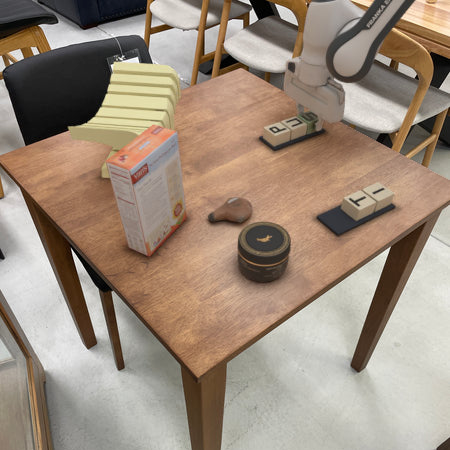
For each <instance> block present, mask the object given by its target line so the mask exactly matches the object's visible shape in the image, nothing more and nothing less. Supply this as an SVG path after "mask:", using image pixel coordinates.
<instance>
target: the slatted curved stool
mask: <svg viewBox="0 0 450 450" xmlns="http://www.w3.org/2000/svg"><path fill="white" fill-rule="evenodd" d="M110 75H111V76H110V79H109V84H108V87H107V90H106V91H107V93H106V94H105V95H104V96H105V97H104V99H103V101H102V103H101V106H100V107H99V109H98V111H97V112H96V114H95V115H94V117H92V118H91V119H90V120H88V121H87V123H86V122H85V123H83V124H81V125H75V126H67V129H68V131H69V135H70V138H71V141H72V140H73V141H81V142H89V143H90V142H91V143H95V144H96V143H97V144H101V145H104V146H105V145H106V146H110V147H112V149H111V150H110V152H109V154H108V156H107V157H106V159H105V161H104V163H103V165H102V166H101V178H105V179H110V176H109V173H108V169H107V165H106V160H108V159H109V158H110V157H112V156H113V155H114V154H115V153H117V152H118V151H119V150H121V149H122V148H123V147H125V146H126V145H127V144H129V143H130V142H131V141H132V140H134V139H135V138H136V137H138V136H139V135H140V134H141V133H143V132H144V131H145V130H147V129H148V128H149V127H150V126H152V125H153V124H154V125H157V126H160V127H164V128H167V129H170V130H174V131H176V127H175V126H176V121H175V120H176V119H175V115H176V111H177V104H178V103H179V100H180V99H181V98H182V91H181V90H182V88H181V80H180V76H179V74H178V72H177V71H176V70H175V69H174V68H173V67H171V66H170V65H167V64H159V63H158V64H157V63H141V62H140V63H139V62H127V61H124V62H123V61H113V64H112V73H111V74H110Z"/></svg>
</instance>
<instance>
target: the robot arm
mask: <svg viewBox="0 0 450 450" xmlns="http://www.w3.org/2000/svg"><path fill="white" fill-rule="evenodd" d="M416 1H417V0H373V1H372V3H370V5H369V7H368V8H367V9H366V10H364V9H362V8H361V7H359V6H358V5H356V4H354V3H353V2H352V1H351V0H311V1H310V3H309V5H308V8H307V11H306V15H305V21H304V27H303V34H302V40H303V41H302V43H303V47H302V50H301V53H300V56H297V57H293V58H290V59H288V60H286V61H285V62H286V63H285V69H286V71H285V73H284V77H283V92H284V95H285V96H287V97H288V98H289V99H291V100H293V101H294V102H295V107H296V112H297V113H296V116H297V115H299V114H302V113H305V112H306V111H305V109H307V110H308V111H311V112H313V113H314V114H316V115H317V116H318V118H317V119H318V122H315V123H314V127H313V129H314V130H316V131H320V130H321V129H322V128H323V124H324V123H325V122H327V123H328V124H329V125H333V124H336V123H339V122H341V121H342V120H343V119H344V114H345V109H346V91H345V89H344V86H343V85H342V84H341V83H344V84H354V83H357V82H360V81H361V80H362V79H364V78H365V77H366V76H367V75H368V74H369V72H370V71H371V69H372V66H373V64H374V61H375V59H376V58H377V56H378V54H379V52H380V50H381V48H382V46H383V44H384V42H385V39H386V38H387V37H388V35H389V34H390V33H391V31H392V30H393V29H394V28H395V27H396V25H397V24H398V23H399V22H400V20H401V19H402V18H403V16H405V14H406V13H407V12H408V10H409V9H410V8H411V7H412V5H413V4H414V3H415V2H416ZM336 80H337V81H336Z"/></svg>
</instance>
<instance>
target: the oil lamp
mask: <svg viewBox="0 0 450 450" xmlns="http://www.w3.org/2000/svg"><path fill="white" fill-rule="evenodd" d="M252 213H253V205H252V203H251V202H250V201H249V200H248V199H246V198H245V197H244V198H243V197H240V196H237V197H228V198H227V200H226V201H224V202H223V204H221V206H218V207H217V208H216V209H215V210H213V211H211V212H209V214H208V215H207V218H208V220H209V221H210V222H212V223H214V222H219V221H225V220H228V221H231V222H238V223H243V222H244V221H245V220H246V219H248V218H249V217H250V216H252Z"/></svg>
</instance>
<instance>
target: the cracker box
mask: <svg viewBox="0 0 450 450" xmlns="http://www.w3.org/2000/svg"><path fill="white" fill-rule="evenodd" d="M105 162H106V165H107V169H108V173H109V176H110V178H109V180H110V184H111V187H112V191H113V195H114V198H115V202H116V206H117V209H118V210H117V211H118V214H119V217H120V221H121V226H122V229H123V232H124V237H125V240H126V245H127V247H128V249H130V250H133V251H135V252H137V253H139V254H142V255H144V256H146V257H151V256H152V255H153V254H154V253H155V252H156V251H157V250H158V249H159V248H160V246H162V245H163V244H164V242H165V241H166V240H168V238H170V237H171V235H172V234H173V233H174V232H175V231H176V230H177V229H178V228H179V227H180V226H181V225H182V224H183V223H184V222H185V221H186V220H187V218H188V216H187V208H186V198H185V189H184V180H183V172H182V162H181V155H180V145H179V136H178V131H177V130H175V131H174V130H170V129H167V128H164V127H160V126H157V125H154V124H153V125H152V126H150V127H149V128H148V129H147V130H145V131H144V132H143V133H141V134H140V135H139V136H138V137H136V138H135V139H134V140H132V141H131V142H130V143H129V144H127V145H126V146H125V147H123V148H122V149H121V150H119V151H118V152H117V153H115V154H114V155H113V156H112V157H110V158H109V159H108V160H106V159H105Z"/></svg>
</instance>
